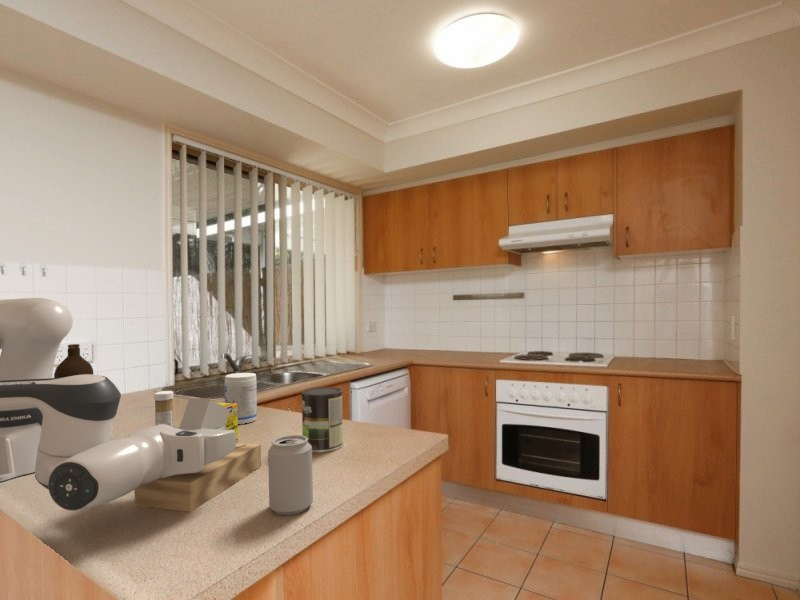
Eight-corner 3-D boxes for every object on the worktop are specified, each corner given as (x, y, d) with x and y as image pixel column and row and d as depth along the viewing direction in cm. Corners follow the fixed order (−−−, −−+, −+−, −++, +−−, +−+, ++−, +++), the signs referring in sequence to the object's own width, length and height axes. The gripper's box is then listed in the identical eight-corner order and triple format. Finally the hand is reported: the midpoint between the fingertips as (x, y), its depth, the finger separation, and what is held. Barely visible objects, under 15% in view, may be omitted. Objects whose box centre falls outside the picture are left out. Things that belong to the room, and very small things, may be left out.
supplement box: (225, 452, 109) (224, 408, 109) (204, 451, 110) (203, 407, 110) (239, 445, 115) (238, 402, 115) (218, 444, 116) (217, 402, 116)
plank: (190, 511, 77) (190, 482, 77) (134, 505, 80) (134, 477, 80) (261, 466, 98) (260, 443, 98) (214, 463, 101) (214, 441, 101)
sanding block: (193, 452, 83) (209, 400, 88) (171, 450, 84) (188, 399, 89) (215, 459, 89) (230, 409, 94) (194, 457, 90) (210, 409, 95)
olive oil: (47, 424, 142) (46, 346, 142) (64, 416, 152) (63, 344, 152) (85, 421, 144) (84, 345, 144) (99, 414, 154) (98, 342, 155)
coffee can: (308, 455, 105) (307, 396, 105) (297, 444, 114) (296, 389, 114) (349, 448, 110) (348, 391, 110) (335, 438, 119) (334, 385, 119)
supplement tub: (218, 423, 137) (217, 376, 137) (241, 416, 146) (241, 371, 146) (240, 426, 133) (239, 377, 133) (263, 419, 141) (262, 373, 141)
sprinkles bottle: (175, 438, 122) (174, 389, 122) (172, 443, 118) (172, 392, 118) (156, 440, 121) (155, 391, 121) (153, 445, 116) (152, 394, 116)
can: (295, 494, 83) (294, 430, 83) (321, 505, 78) (320, 437, 79) (260, 509, 77) (259, 440, 78) (286, 521, 73) (285, 448, 73)
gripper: (110, 465, 80) (168, 442, 94) (206, 473, 75) (253, 447, 88) (109, 430, 81) (167, 412, 94) (205, 436, 75) (252, 416, 89)
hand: (209, 429), depth 91 cm, fingers closed on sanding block, 5 cm apart
